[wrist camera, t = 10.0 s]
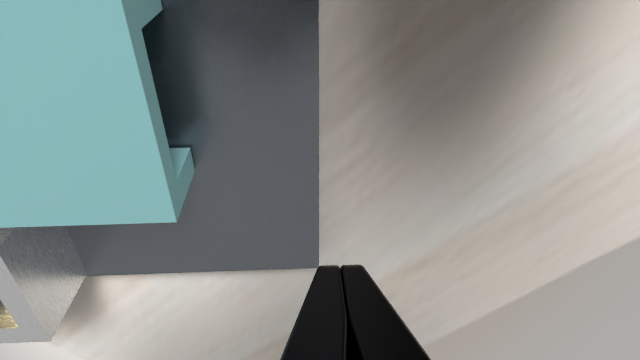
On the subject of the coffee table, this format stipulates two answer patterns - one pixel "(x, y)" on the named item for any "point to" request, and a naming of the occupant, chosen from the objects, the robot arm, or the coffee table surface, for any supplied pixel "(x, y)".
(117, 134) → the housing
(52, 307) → the hollow square metal block
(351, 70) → the coffee table surface
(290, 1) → the metal cubes
